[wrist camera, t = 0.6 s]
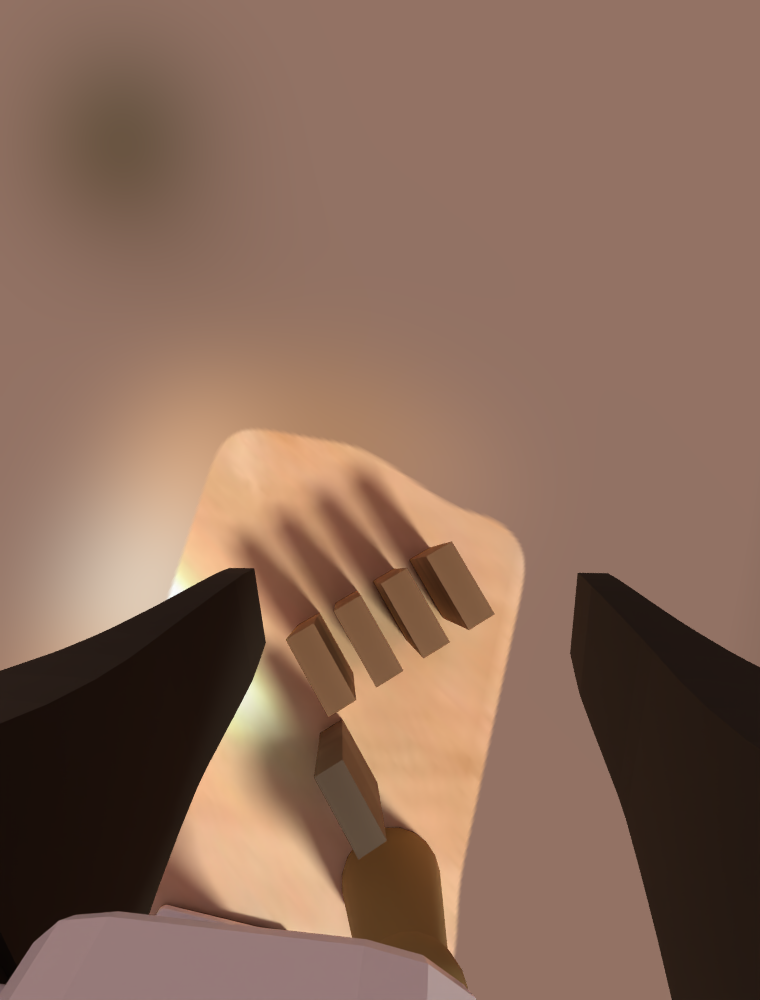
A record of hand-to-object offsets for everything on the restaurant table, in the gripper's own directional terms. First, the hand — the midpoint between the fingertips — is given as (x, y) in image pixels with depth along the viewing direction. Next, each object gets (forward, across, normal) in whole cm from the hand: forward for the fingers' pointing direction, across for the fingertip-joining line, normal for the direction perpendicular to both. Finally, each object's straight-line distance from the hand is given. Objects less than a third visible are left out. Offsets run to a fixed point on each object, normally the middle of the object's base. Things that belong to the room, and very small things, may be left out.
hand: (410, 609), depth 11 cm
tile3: (+18, +5, +13) cm, 23 cm away
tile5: (+20, 0, +11) cm, 23 cm away
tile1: (+14, +6, +20) cm, 25 cm away
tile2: (+17, +7, +14) cm, 23 cm away
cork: (+11, +3, +26) cm, 29 cm away
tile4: (+19, +2, +12) cm, 23 cm away
